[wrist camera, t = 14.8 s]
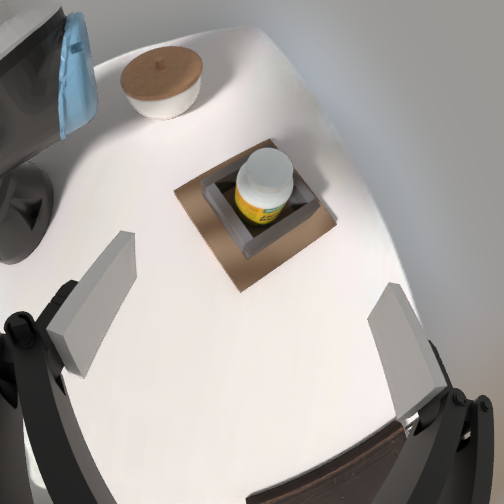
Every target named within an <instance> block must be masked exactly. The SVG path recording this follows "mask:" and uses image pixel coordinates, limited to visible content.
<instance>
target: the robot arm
mask: <svg viewBox="0 0 504 504" xmlns="http://www.w3.org/2000/svg"><path fill="white" fill-rule="evenodd" d="M97 109H98V95H97V88H96V82H95V75H94V69H93V63H92V58H91V51H90V45H89V39H88V33H87V27H86V23H85V20H84V15H83V13H81V12H76V13H70V14H69V15H68V16H65V15H64V13H63V10H62V7H61V4H60V2H59V1H56V0H0V262H1V263H4V264H9V265H10V264H16V263H19V262H21V261H22V260H24V259H25V258H26V257H28V256H29V255H30V254H31V253H32V252H33V250H34V249H35V248H36V247H37V245H38V244H39V242H40V240H41V239H42V237H43V235H44V233H45V231H46V228H47V226H48V223H49V220H50V216H51V212H52V205H53V189H52V184H51V181H50V179H49V177H48V176H47V174H46V173H45V172H44V171H43V170H42V169H41V168H39V167H38V166H37V165H35V164H34V163H31V162H26V161H27V160H29V159H30V158H32V157H33V156H35V155H36V154H38V153H39V152H41V151H42V150H44V149H46V148H47V147H49V146H50V145H52V144H54V143H55V142H57V141H59V140H64V139H65V138H66V136H67V135H68V134H70V133H72V132H73V131H75V130H77V129H78V128H80V127H82V126H84V125H85V124H87V123H88V122H90V121H91V120H92V119H93V117H94V116H95V114H96V112H97ZM136 278H137V275H136V257H135V233H131V232H126V231H120V232H119V233H118V235H117V236H116V237H115V238H114V239H113V240H112V241H111V243H110V244H109V245H108V246H107V247H106V249H105V250H104V251H103V252H102V253H101V255H100V256H99V257H98V258H97V260H96V261H95V262H94V263H93V265H92V266H91V267H90V268H89V270H88V271H87V272H86V273H85V275H84V276H83V277H82V279H81V280H80V281H79V282H77V281H74V280H70V281H68V282H67V283H65V284H64V285H62V286H61V288H60V289H59V290H58V291H57V293H56V295H55V296H54V297H53V298H52V299H51V302H50V303H48V305H47V306H46V308H45V309H44V310H43V312H42V313H41V315H40V316H39V317H38V319H37V320H36V322H35V321H34V319H33V317H32V316H31V315H30V314H29V313H27V312H24V311H21V312H16V313H14V314H12V315H11V316H10V317H9V318H8V319H7V320H6V322H5V324H4V331H5V333H6V334H2V333H0V504H34V502H33V499H32V493H31V489H30V483H29V478H28V471H27V464H26V456H25V446H24V432H23V418H24V422H25V426H26V430H27V434H28V437H29V441H30V444H31V447H32V451H33V454H34V457H35V460H36V462H37V465H38V468H39V471H40V473H41V476H42V478H43V481H44V483H45V486H46V488H47V490H48V493H49V495H50V497H51V499H52V501H53V503H54V504H117V503H116V501H115V499H114V498H113V496H112V494H111V493H110V491H109V489H108V487H107V485H106V484H105V482H104V480H103V478H102V476H101V474H100V472H99V470H98V468H97V466H96V464H95V462H94V460H93V458H92V456H91V453H90V451H89V449H88V447H87V444H86V442H85V440H84V437H83V435H82V432H81V430H80V427H79V425H78V422H77V419H76V417H75V414H74V411H73V408H72V405H71V402H70V399H69V396H68V393H67V389H66V386H65V382H64V379H63V376H62V374H61V371H62V369H63V367H64V366H65V368H66V370H67V371H68V373H69V374H72V375H74V376H76V377H79V378H81V379H85V377H86V374H87V372H88V370H89V368H90V366H91V364H92V361H93V359H94V357H95V355H96V353H97V351H98V349H99V347H100V345H101V343H102V341H103V339H104V337H105V335H106V333H107V331H108V329H109V327H110V325H111V323H112V321H113V320H114V318H115V316H116V314H117V312H118V310H119V308H120V306H121V305H122V303H123V301H124V299H125V297H126V296H127V294H128V292H129V290H130V289H131V287H132V285H133V283H134V282H135V280H136ZM367 320H368V323H369V326H370V329H371V331H372V334H373V337H374V340H375V344H376V347H377V350H378V353H379V356H380V359H381V363H382V366H383V369H384V373H385V376H386V379H387V383H388V387H389V390H390V394H391V398H392V401H393V405H394V409H395V413H396V417H397V420H399V419H407V418H410V417H411V416H413V415H414V414H415V413H417V412H418V415H419V417H418V418H416V419H415V420H414V421H412V422H411V423H410V424H408V425H407V426H406V428H405V429H408V428H409V427H411V426H412V428H411V429H410V430H409V432H410V433H409V435H408V437H407V439H406V442H405V444H404V446H403V448H402V450H401V452H400V454H399V456H398V458H397V460H396V462H395V464H394V466H393V467H392V469H391V471H390V473H389V475H388V477H387V478H386V480H385V482H384V483H383V485H382V487H381V488H380V490H379V492H378V493H377V495H376V497H375V498H374V500H373V501H372V503H371V504H489V501H490V494H491V486H492V477H493V463H494V418H493V407H492V403H491V401H490V399H489V398H488V397H486V396H485V395H481V396H479V397H478V398H477V399H475V400H474V401H473V400H468V399H466V396H465V394H464V393H463V392H462V391H461V390H460V389H457V388H453V387H452V384H451V382H450V379H449V377H448V374H447V372H446V370H445V367H444V365H443V364H442V360H441V358H439V354H438V351H437V349H436V347H435V346H434V345H433V344H432V343H431V341H430V340H428V339H427V337H426V335H425V333H424V331H423V329H422V327H421V325H420V322H419V320H418V318H417V316H416V314H415V312H414V311H413V309H412V307H411V305H410V303H409V301H408V299H407V297H406V295H405V293H404V292H403V290H402V288H401V286H400V284H395V283H390V282H389V283H388V284H387V286H386V288H385V290H384V292H383V293H382V295H381V297H380V298H379V300H378V302H377V304H376V305H375V307H374V309H373V310H372V312H371V313H370V315H369V317H368V318H367ZM470 431H471V433H470V437H468V438H467V439H465V438H464V435H465V434H467V433H468V432H470Z"/></svg>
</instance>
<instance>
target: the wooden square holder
mask: <svg viewBox="0 0 504 504" xmlns="http://www.w3.org/2000/svg"><path fill="white" fill-rule="evenodd" d="M262 148H274V149H277V150H279V149H278V148H277V147H276V146H275V145H274V143H273V142H272V141H271V140H270V139H268V140H266V141H264V142H262V143H260V144H258V145H256V146H254V147H252V148H250V149H248V150H246V151H244V152H242V153H240V154H238V155H236V156H234V157H233V158H231V159H229V160H227V161H225V162H223V163H221V164H220V165H218V166H216V167H214V168H212V169H210V170H209V171H207V172H205V173H203V174H202V175H200V176H198V177H196V178H195V179H193V180H191V181H189V182H188V183H186V184H184V185H183V186H181V187H179V188H178V189H176V190H174V193H175V195H176V197H177V199H178V200H179V202H180V203H181V205H182V206H183V208H184V209H185V211H186V213H187V214H188V216H189V217H190V219H191V220H192V222H193V223H194V225H195V226H196V228H197V229H198V231H199V232H200V234H201V235H202V237H203V238H204V240H205V241H206V243H207V244H208V246H209V247H210V249H211V250H212V252H213V253H214V255H215V256H216V258H217V259H218V261H219V262H220V264H221V265H222V267H223V268H224V270H225V271H226V273H227V274H228V276H229V277H230V279H231V280H232V281H233V283H234V284H235V286H236V287H237V289H238V290H239V292H240V293H241V292H242V291H244V290H245V289H247V288H248V287H250V286H251V285H253V284H254V283H255V282H257V281H258V280H260V279H261V278H263V277H264V276H266V275H267V274H268V273H270V272H271V271H273V270H274V269H276V268H277V267H278V266H280V265H281V264H283V263H284V262H286V261H287V260H288V259H290V258H291V257H293V256H294V255H296V254H297V253H298V252H300V251H301V250H303V249H304V248H305V247H307V246H308V245H310V244H311V243H312V242H314V241H315V240H317V239H318V238H319V237H321V236H322V235H324V234H325V233H326V232H328V231H329V230H330V229H332V228H333V227H334V226H336V225H337V224H336V223H335V221H334V220H333V219H332V217H331V216H330V214H329V213H328V212H327V210H326V209H325V208H324V206H323V205H322V204H321V202H320V201H319V200H318V198H317V197H316V196H315V194H314V193H313V192H312V190H311V189H310V188H309V187H308V185H307V184H306V183H305V181H304V180H303V179H302V178H301V176H300V175H299V174H298V173H297V171H296V170H295V169H294V168H293V175H292V177H293V190H292V193H291V195H290V197H289V199H288V201H287V202H286V204H285V206H284V207H283V209H282V211H281V212H280V214H279V216H278V217H277V219H276V220H275V221H274V222H273V223H272V224H270V225H269V226H266V227H263V228H254V227H250V226H247V225H245V224H244V223H242V221H241V220H240V219H239V217H238V216H237V214H236V213H235V210H234V199H235V190H236V180H237V175H238V172H239V170H240V168H241V167H242V166H243V164H244V163H246V162H247V161H248V158H249V157H250V155H251V154H252V153H253V152H255V151H256V150H259V149H262Z"/></svg>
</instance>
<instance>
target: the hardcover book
mask: <svg viewBox="0 0 504 504" xmlns="http://www.w3.org/2000/svg"><path fill="white" fill-rule="evenodd" d="M405 442H406V435H405V432H404V428H403V426H402V424H401V423H400V422H398V421H396V420H395V421H394V422H392V423H391V424H390V425H388V426H387V427H385V428H384V429H383V430H381V431H380V432H378V433H377V434H375V435H374V436H372V437H371V438H369V439H368V440H366V441H365V442H363V443H362V444H360V445H359V446H357V447H355V448H354V449H352V450H350V451H349V452H347V453H345V454H344V455H342V456H340V457H338V458H337V459H335V460H333V461H331V462H329V463H327V464H326V465H324V466H322V467H320V468H318V469H316V470H314V471H312V472H310V473H308V474H306V475H303V476H301V477H299V478H297V479H295V480H292V481H290V482H288V483H286V484H283V485H281V486H278V487H276V488H273V489H271V490H268V491H265V492H263V493H260V494H257V495H254V496H251V497H248V498H246V504H371V503H372V501H373V500H374V498H375V497H376V495H377V493H378V492H379V490H380V488H381V487H382V485H383V483H384V482H385V480H386V478H387V477H388V475H389V473H390V471H391V469H392V467H393V466H394V464H395V462H396V460H397V458H398V456H399V454H400V452H401V450H402V448H403V446H404V444H405Z"/></svg>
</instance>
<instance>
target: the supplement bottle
mask: <svg viewBox="0 0 504 504" xmlns="http://www.w3.org/2000/svg"><path fill="white" fill-rule="evenodd" d="M292 175H293V165H292V162H291V160H290V159H289V157H288V156H287V155H286V154H285V153H283V152H282V151H280V150H277V149H274V148H262V149H259V150H256V151H255V152H253V153H252V154H251V155H250V157H249V158H248V161H247V162H246V163H244V164H243V166H242V167H241V168H240V170H239V172H238V175H237V180H236V190H235V199H234V210H235V213H236V214H237V216H238V217H239V219H240V220H241V221H242V223H244V224H245V225H247V226H250V227H254V228H263V227H266V226H269V225H270V224H272V223H273V222H274V221H275V220H276V219H277V217H278V216H279V214H280V212H281V211H282V209H283V207H284V206H285V204H286V202H287V201H288V199H289V197H290V195H291V193H292V190H293V177H292Z"/></svg>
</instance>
